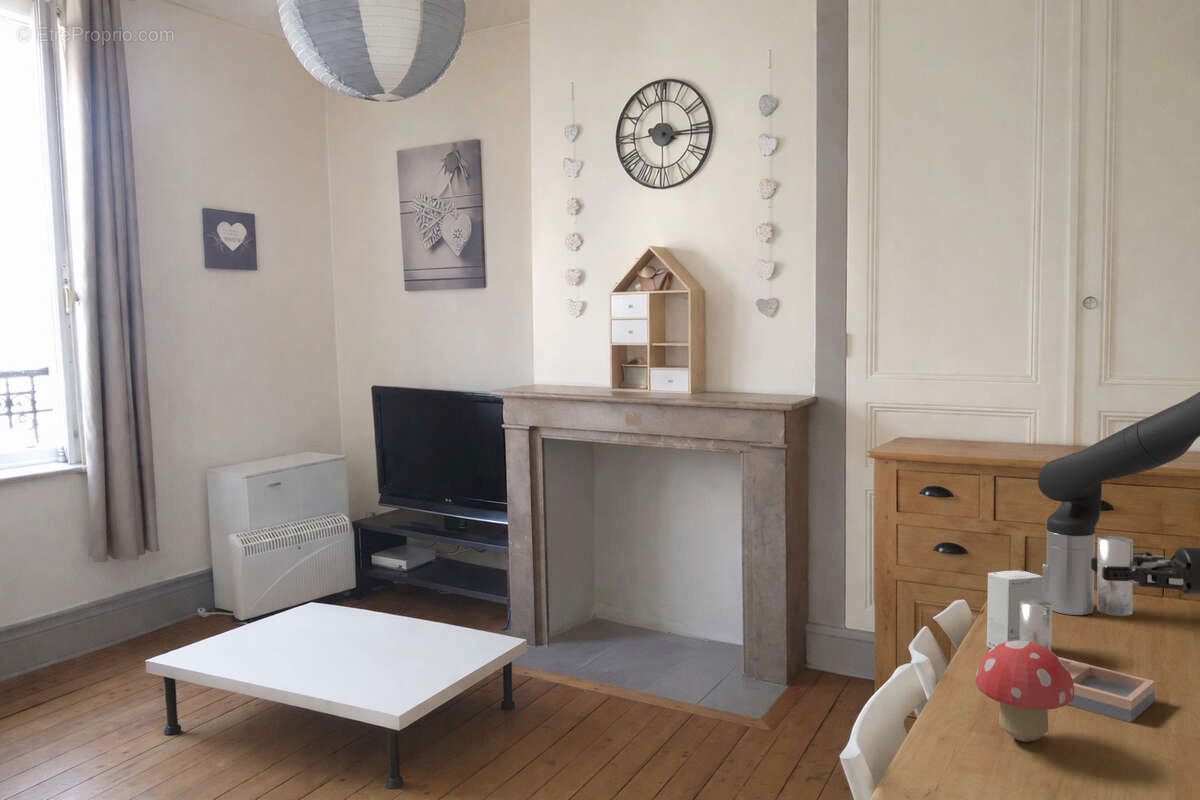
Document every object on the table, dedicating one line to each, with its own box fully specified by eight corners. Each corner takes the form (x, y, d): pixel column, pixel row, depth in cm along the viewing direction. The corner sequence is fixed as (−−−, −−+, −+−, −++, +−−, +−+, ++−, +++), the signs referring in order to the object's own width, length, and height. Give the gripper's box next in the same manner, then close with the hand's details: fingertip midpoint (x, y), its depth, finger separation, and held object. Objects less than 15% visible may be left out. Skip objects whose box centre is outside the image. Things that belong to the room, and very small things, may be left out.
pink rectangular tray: (990, 682, 153) (990, 663, 153) (1018, 665, 160) (1018, 646, 160) (1130, 722, 136) (1131, 701, 136) (1154, 701, 143) (1154, 681, 143)
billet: (1092, 611, 144) (1092, 539, 143) (1103, 604, 147) (1103, 534, 147) (1126, 617, 140) (1126, 544, 139) (1136, 610, 144) (1137, 538, 143)
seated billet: (1014, 670, 153) (1015, 603, 152) (1026, 663, 156) (1027, 597, 155) (1044, 679, 149) (1045, 610, 148) (1055, 670, 152) (1057, 603, 151)
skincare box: (1007, 657, 164) (1008, 580, 163) (984, 646, 170) (985, 572, 168) (1043, 651, 166) (1044, 575, 165) (1019, 641, 172) (1020, 567, 171)
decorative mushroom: (989, 712, 141) (990, 622, 140) (1082, 735, 132) (1084, 639, 131) (963, 744, 131) (964, 647, 129) (1062, 771, 122) (1064, 667, 121)
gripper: (1193, 538, 147) (1083, 536, 151) (1236, 560, 133) (1113, 557, 137) (1192, 581, 148) (1082, 578, 151) (1234, 608, 134) (1112, 604, 137)
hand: (1097, 568), depth 144 cm, fingers closed on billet, 5 cm apart
